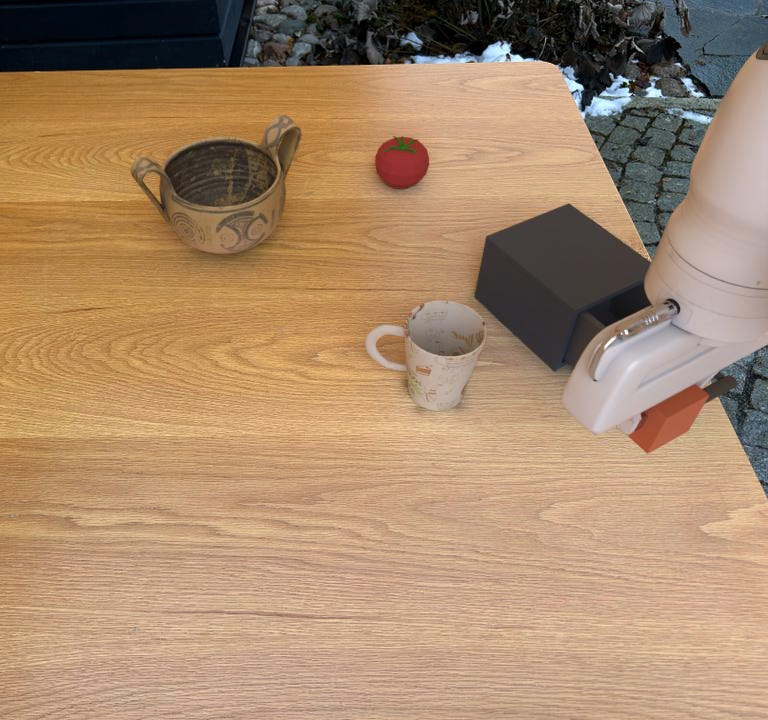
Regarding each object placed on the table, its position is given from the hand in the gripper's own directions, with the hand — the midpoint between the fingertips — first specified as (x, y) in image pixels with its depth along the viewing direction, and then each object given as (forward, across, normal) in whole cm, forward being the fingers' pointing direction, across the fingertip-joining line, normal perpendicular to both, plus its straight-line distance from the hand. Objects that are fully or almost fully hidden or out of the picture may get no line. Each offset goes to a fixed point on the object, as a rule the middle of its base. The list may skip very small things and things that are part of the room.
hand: (653, 410), depth 59 cm
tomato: (+18, +17, +57) cm, 62 cm away
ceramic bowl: (+18, -11, +58) cm, 62 cm away
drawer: (+16, +16, +12) cm, 26 cm away
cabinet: (+17, +16, +24) cm, 34 cm away
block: (+2, 0, 0) cm, 2 cm away
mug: (+18, -5, +23) cm, 29 cm away
